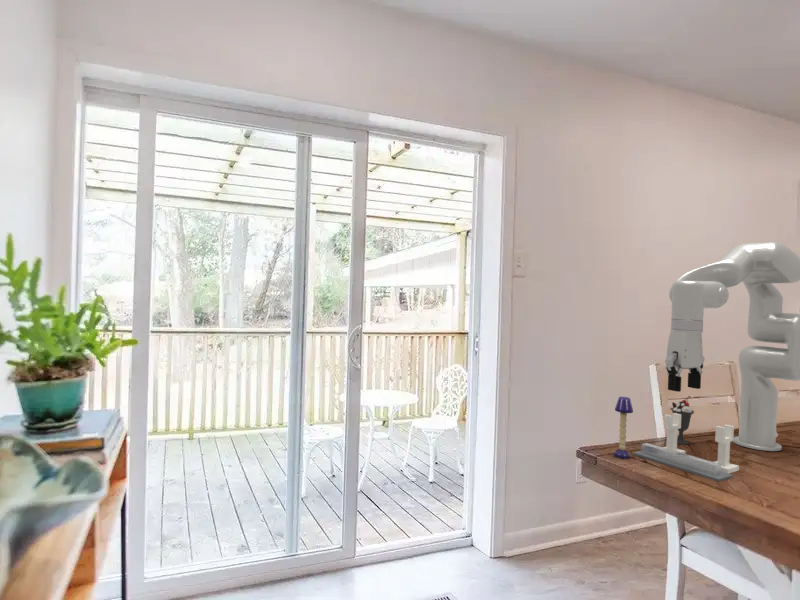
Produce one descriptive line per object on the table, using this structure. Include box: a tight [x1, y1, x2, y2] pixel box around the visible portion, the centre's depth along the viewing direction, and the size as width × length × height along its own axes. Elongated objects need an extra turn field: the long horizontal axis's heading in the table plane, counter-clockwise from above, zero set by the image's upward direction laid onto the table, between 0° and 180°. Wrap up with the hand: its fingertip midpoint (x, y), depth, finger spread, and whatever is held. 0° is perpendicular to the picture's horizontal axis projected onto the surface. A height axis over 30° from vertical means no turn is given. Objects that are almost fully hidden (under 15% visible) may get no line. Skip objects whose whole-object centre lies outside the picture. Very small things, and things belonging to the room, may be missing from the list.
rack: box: [662, 412, 740, 474], centre depth 139 cm, size 6×19×12 cm, turn 32°
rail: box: [640, 442, 721, 476], centre depth 135 cm, size 2×20×2 cm, turn 32°
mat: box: [632, 450, 734, 482], centre depth 135 cm, size 7×23×1 cm, turn 32°
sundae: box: [670, 395, 695, 445], centre depth 158 cm, size 7×7×15 cm
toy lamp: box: [613, 396, 634, 459], centre depth 141 cm, size 5×5×17 cm
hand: (684, 389), depth 135 cm, fingers open, 9 cm apart
